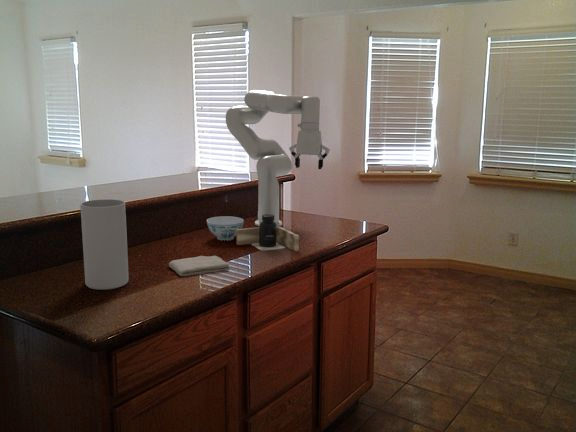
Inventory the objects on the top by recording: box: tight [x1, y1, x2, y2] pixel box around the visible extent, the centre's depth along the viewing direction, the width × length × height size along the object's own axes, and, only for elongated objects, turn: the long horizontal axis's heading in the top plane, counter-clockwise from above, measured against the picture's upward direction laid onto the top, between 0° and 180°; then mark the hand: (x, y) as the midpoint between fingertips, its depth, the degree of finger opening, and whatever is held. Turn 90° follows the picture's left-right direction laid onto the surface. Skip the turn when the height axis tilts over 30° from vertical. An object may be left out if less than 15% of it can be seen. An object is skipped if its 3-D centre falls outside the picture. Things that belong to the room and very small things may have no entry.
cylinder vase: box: [80, 198, 129, 291], centre depth 158 cm, size 12×12×25 cm
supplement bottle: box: [258, 214, 277, 247], centre depth 204 cm, size 7×7×12 cm
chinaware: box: [206, 215, 245, 242], centre depth 215 cm, size 15×15×8 cm
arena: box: [236, 225, 300, 252], centre depth 204 cm, size 18×18×6 cm
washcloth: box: [168, 255, 230, 277], centre depth 177 cm, size 12×18×3 cm, turn 121°
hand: (308, 168), depth 221 cm, fingers open, 9 cm apart
